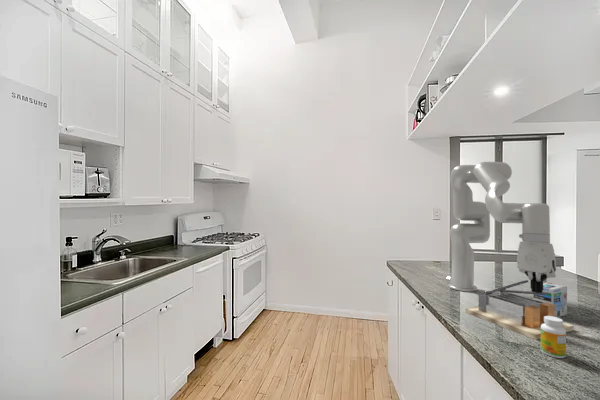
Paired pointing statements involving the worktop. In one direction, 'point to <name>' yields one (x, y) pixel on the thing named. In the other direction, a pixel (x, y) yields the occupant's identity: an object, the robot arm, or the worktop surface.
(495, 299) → the grey and orange fixture
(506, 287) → the strap
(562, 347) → the supplement bottle
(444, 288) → the worktop surface
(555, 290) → the light bulb box
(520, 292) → the strap
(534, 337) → the board
